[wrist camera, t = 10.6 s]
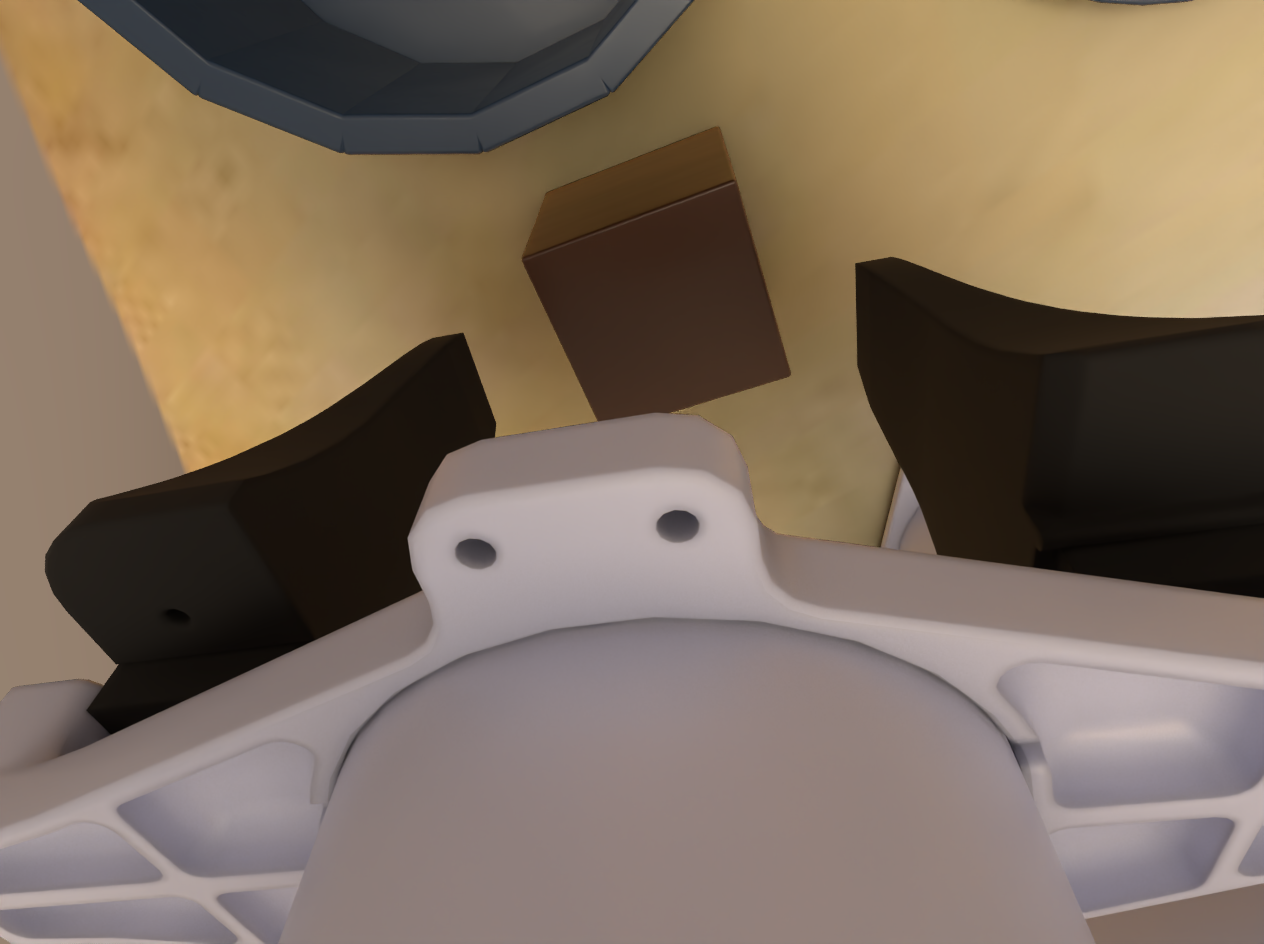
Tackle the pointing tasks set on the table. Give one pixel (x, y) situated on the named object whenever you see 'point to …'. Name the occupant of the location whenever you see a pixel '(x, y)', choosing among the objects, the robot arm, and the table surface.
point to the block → (656, 282)
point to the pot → (396, 63)
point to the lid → (1140, 1)
